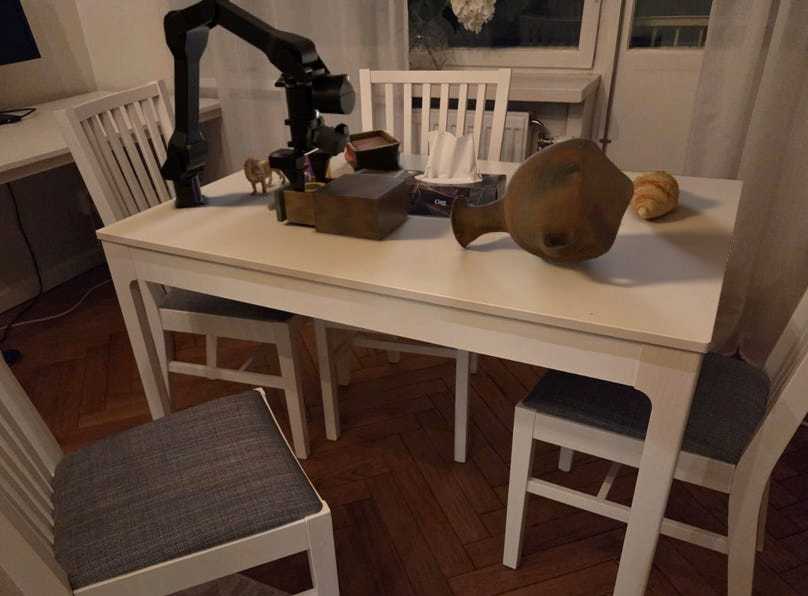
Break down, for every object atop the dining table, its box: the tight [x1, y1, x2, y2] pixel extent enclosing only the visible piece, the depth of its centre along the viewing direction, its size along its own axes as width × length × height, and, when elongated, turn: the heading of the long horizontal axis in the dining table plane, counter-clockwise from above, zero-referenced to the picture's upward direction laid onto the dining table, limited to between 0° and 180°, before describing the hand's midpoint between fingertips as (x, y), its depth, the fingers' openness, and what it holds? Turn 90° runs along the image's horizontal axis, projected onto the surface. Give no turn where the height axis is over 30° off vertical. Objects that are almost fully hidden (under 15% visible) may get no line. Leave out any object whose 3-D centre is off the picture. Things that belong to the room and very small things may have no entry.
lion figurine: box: [243, 156, 287, 196], centre depth 147 cm, size 15×5×9 cm, turn 163°
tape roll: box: [305, 182, 325, 193], centre depth 129 cm, size 6×6×5 cm
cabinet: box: [312, 173, 408, 241], centre depth 124 cm, size 14×13×8 cm
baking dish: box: [343, 128, 402, 173], centre depth 161 cm, size 14×18×10 cm
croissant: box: [629, 170, 680, 220], centre depth 126 cm, size 21×10×8 cm, turn 156°
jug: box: [449, 137, 634, 263], centre depth 105 cm, size 20×20×30 cm
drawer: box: [267, 173, 337, 226], centre depth 129 cm, size 17×12×6 cm
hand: (312, 193), depth 128 cm, fingers open, 7 cm apart
